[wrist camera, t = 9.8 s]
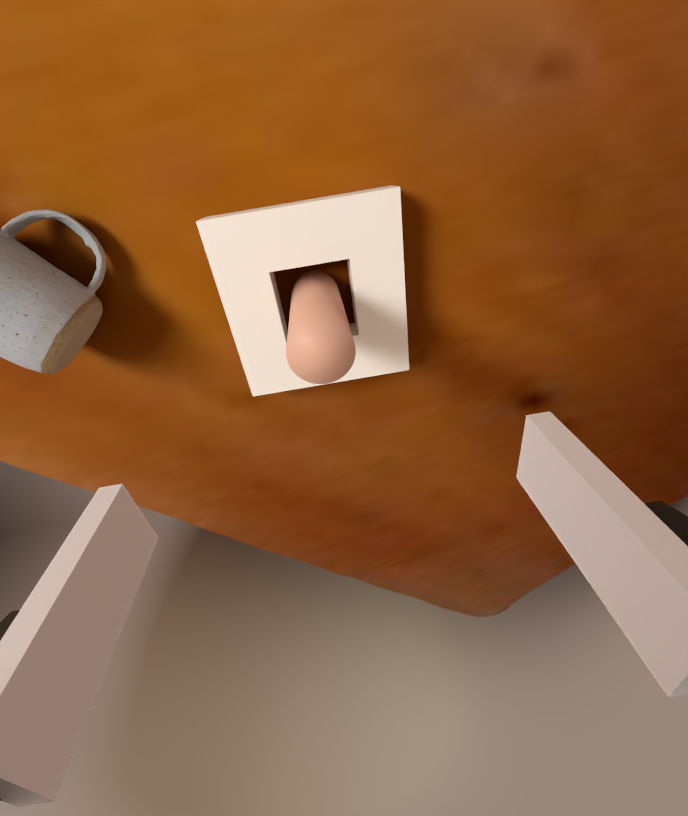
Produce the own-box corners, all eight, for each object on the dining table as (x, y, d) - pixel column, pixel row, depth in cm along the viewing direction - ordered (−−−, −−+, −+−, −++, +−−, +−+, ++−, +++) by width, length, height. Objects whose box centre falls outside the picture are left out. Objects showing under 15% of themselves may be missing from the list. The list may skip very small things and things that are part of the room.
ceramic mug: (86, 356, 32) (32, 401, 26) (-23, 298, 29) (-115, 332, 23) (140, 256, 29) (93, 279, 22) (22, 176, 25) (-73, 175, 19)
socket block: (205, 216, 27) (195, 221, 25) (391, 185, 27) (400, 186, 25) (256, 380, 35) (252, 396, 33) (401, 355, 35) (409, 369, 32)
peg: (287, 274, 30) (278, 326, 20) (335, 266, 30) (350, 314, 20) (297, 321, 32) (294, 389, 22) (342, 313, 32) (359, 378, 22)
